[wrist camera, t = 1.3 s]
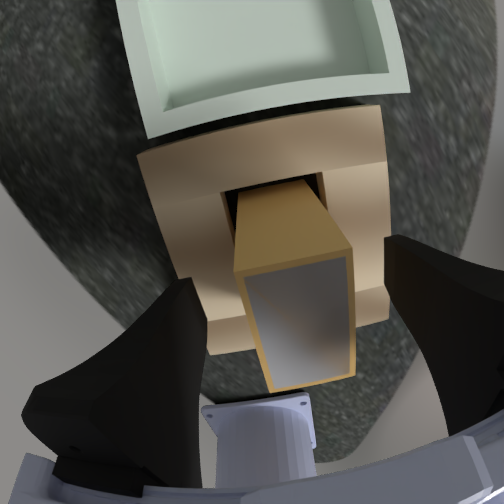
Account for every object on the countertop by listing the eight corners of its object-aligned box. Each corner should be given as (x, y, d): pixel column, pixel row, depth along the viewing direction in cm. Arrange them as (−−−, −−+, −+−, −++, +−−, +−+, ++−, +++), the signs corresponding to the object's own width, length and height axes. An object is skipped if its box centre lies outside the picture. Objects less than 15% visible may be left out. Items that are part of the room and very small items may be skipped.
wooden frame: (379, 303, 17) (388, 318, 16) (212, 337, 18) (210, 355, 16) (366, 104, 12) (380, 105, 11) (147, 149, 13) (136, 155, 11)
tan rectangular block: (317, 272, 16) (355, 375, 10) (260, 284, 16) (269, 392, 10) (303, 179, 14) (352, 247, 7) (238, 192, 14) (233, 272, 8)
